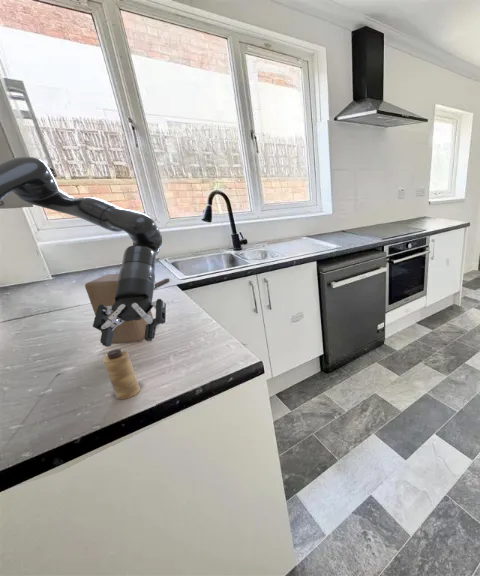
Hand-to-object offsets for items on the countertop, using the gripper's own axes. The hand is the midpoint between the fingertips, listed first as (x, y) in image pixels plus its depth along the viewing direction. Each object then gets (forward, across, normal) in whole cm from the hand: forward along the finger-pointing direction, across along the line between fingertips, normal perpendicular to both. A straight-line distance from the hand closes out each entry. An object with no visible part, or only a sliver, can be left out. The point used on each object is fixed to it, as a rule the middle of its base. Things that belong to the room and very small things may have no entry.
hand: (127, 343), depth 74 cm
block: (-12, +13, -27) cm, 32 cm away
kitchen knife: (-47, +27, -62) cm, 82 cm away
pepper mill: (+11, 0, -3) cm, 12 cm away
